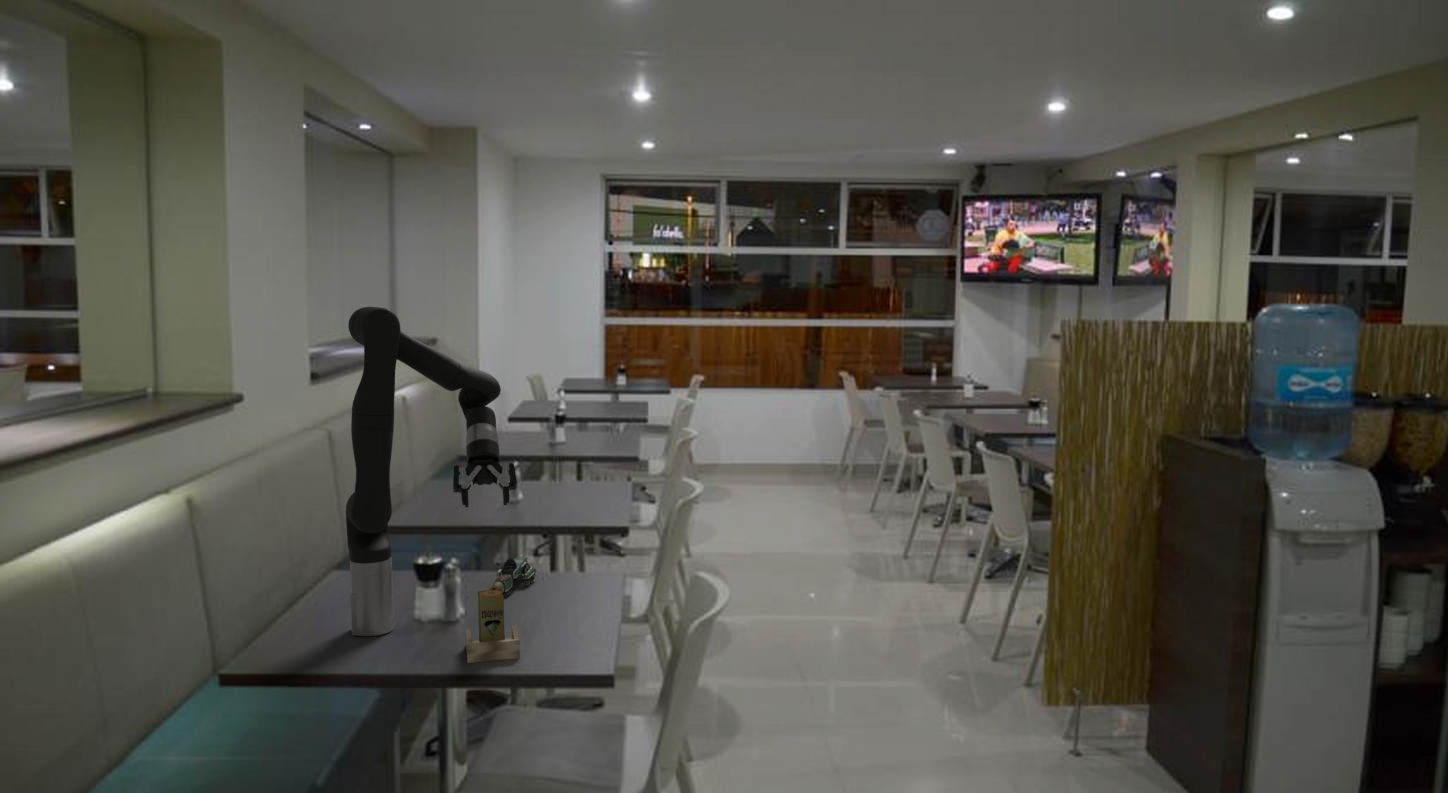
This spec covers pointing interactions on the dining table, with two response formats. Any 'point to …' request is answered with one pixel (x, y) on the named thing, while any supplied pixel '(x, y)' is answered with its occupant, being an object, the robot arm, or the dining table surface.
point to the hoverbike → (513, 574)
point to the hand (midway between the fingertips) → (486, 504)
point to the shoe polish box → (491, 615)
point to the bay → (493, 648)
